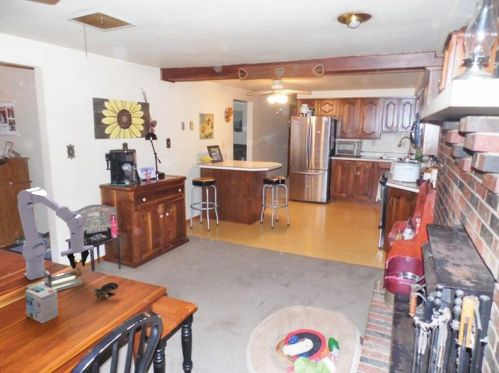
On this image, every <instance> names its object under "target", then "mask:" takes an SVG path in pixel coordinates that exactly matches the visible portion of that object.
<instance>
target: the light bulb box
mask: <svg viewBox="0 0 499 373" xmlns="http://www.w3.org/2000/svg"><path fill="white" fill-rule="evenodd" d="M24 291H25V292H24V294H25V309H26V311H25V312H26V317H29V318H30V319H32V320H35V321H36V322H38V323H41V324H44V323H46V322H48V321H51V320H53V319H56V318H57V317H59V302H58V301H59V299H58V291H56V290H54V289H51V288H49V287H46V286H44V285H39V286H37V287H34V288H31V289H29V290H28V289H26V290H24Z"/></svg>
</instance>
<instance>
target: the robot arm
mask: <svg viewBox="0 0 499 373" xmlns="http://www.w3.org/2000/svg"><path fill="white" fill-rule="evenodd" d="M16 198H17V201H18V202H17V209H18V210H17V211H18V212H19V214H18V215H19V217H20V223H21V227H22V230H23V234H24V238H25V242H24V244H23V245H22V246H21V247H22V252H21V253H22V257H23V259H24V260H25V270H26V272H25V273H24V274H23V275H25V277H26V278H27V279H28V281H32V280H36V279H40V278H44V271H45V269H46V268H45V257H46V256H45V255H46V253H47V252H48V248H47V245H46V244H45V241H44V239H41V238H40V236H39V232H38V228H37V224H36V219H35V216H34V211H33V207H34V206H35V205H36V204H42V205H44V206H46V207H47V208H49V209H50V210H53V211H54V212H55V216H57V217H58V218H60V219H61V220H62V221H63V222H65V223H66V225H67V226H66V227H68V229H69V234H70V236H69V238H70V248H69V249H67V250H63V251H60V256H61V257H63V258H64V257H65V256H66V257H67V258H68V261H69V263H70V266H71V269H73V270H74V269H75V260H76V256H75V255H76V254H78V253H79V254H80V256H81V258H80V259H81V260H83V267H85V266H86V262H87V259H88V258H89V257H88V256H90V251H94V250H95V248H94V247H95V246H94V245H92V244H91V245H85V236H84V235H85V234H84V225H85V224H86V217H85V216H84V215H83V214H78V213H76V212H74V211H73V210H71V209H70V208H69V207H68V205H60V204H59V203H58V202H57V201H55V200H54V199H53V198H52V197H50V195H48V194H47V192H46V190H44V189H43V188H41V187H40V186H36V187H33V188H28V189H22V190H20V191H19V192H18V194H17V195H16Z"/></svg>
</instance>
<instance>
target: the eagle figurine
mask: <svg viewBox="0 0 499 373" xmlns="http://www.w3.org/2000/svg"><path fill="white" fill-rule="evenodd" d="M118 288H119V285H118V283H116V282H107V283H106V284H103V285H102V286H101V287H100V288H98V287H94V288H93V290H92V291H93V292H94V296H95V297H96V301H98V300H99V299H100V297H101V296H104V297H105V298H106V299H109V295H108V294H113V295H116V292H114V291H116V290H117V289H118Z"/></svg>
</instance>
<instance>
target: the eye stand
mask: <svg viewBox="0 0 499 373" xmlns="http://www.w3.org/2000/svg"><path fill="white" fill-rule="evenodd" d="M51 276H52V273H50V272H49V270H48V269H46V270H45V271H44V277H43V279H44V278H47V279H48V283H44V280H41V281H38V282H35V283H30V284H27V285H26V290H29V289H31V288H34V287H37V286H39V285H44V286H46V287H49V288H51V289H54V290H56V291H57V292H60V291H64V290H66V289H69V288H75V287H77V286H81V285H83V283H84V282H83V280H82V279H81V278H80V277H76V276H71V277H67V278H64V279H60V280H56V281H52V280H51Z"/></svg>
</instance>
